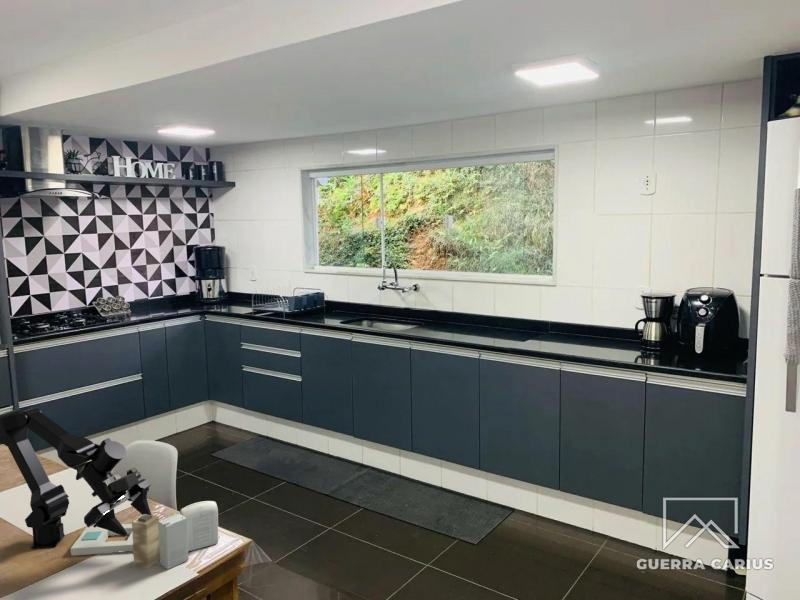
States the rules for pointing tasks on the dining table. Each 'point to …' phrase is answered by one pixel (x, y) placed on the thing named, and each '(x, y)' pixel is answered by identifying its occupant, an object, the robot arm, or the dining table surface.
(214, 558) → the dining table surface
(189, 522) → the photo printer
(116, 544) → the panel
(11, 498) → the dining table surface
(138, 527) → the plug
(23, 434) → the robot arm
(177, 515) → the skincare box
